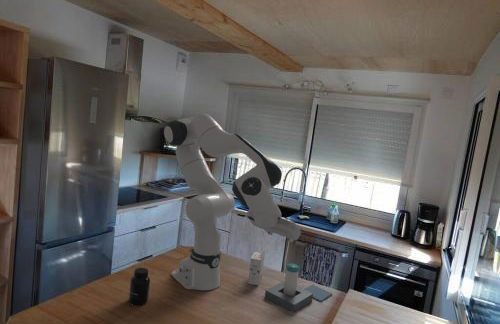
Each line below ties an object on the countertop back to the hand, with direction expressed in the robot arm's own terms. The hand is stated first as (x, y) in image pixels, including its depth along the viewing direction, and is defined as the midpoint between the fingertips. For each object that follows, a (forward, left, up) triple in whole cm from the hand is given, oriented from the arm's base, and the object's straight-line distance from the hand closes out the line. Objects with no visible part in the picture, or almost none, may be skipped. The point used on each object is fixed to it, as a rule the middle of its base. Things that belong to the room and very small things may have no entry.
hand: (281, 236), depth 128 cm
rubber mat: (+5, +25, -28) cm, 38 cm away
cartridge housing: (0, +11, -28) cm, 31 cm away
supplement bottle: (-34, -37, -29) cm, 58 cm away
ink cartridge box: (-19, +12, -29) cm, 37 cm away
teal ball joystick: (0, +11, -28) cm, 31 cm away
